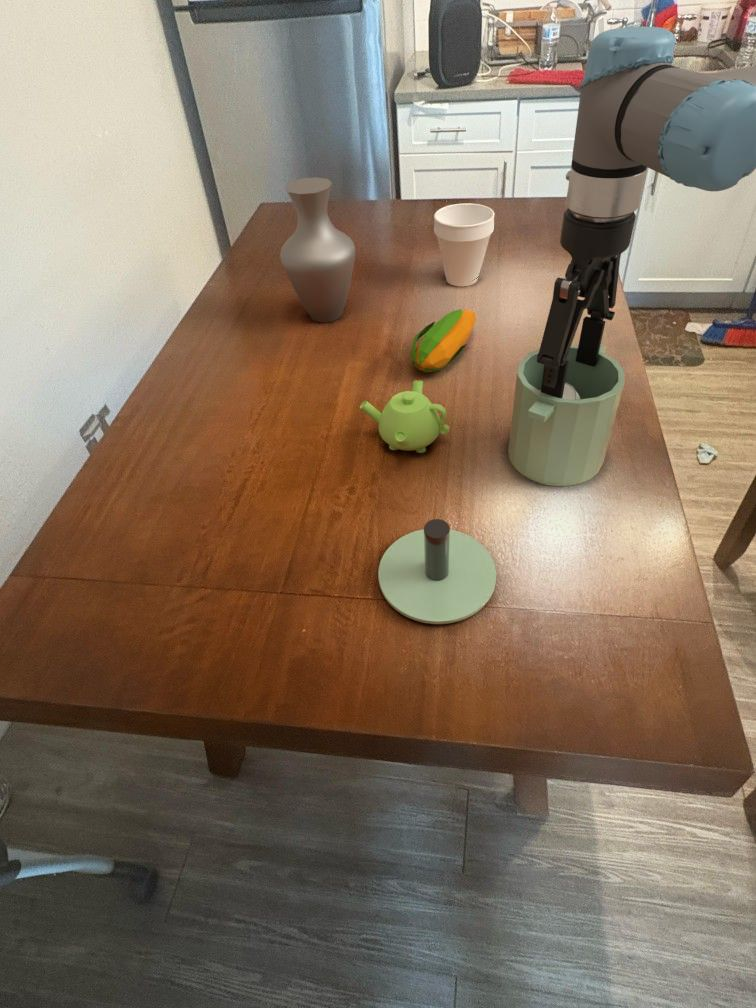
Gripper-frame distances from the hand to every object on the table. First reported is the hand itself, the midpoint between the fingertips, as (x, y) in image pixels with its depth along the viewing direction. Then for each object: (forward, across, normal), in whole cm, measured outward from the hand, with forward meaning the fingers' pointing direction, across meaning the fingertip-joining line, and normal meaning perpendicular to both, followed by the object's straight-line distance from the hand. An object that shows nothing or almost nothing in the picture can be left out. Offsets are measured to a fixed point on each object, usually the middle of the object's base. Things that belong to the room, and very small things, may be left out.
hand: (568, 382), depth 81 cm
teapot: (+13, +9, -21) cm, 26 cm away
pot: (+13, 0, 0) cm, 13 cm away
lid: (+12, +29, -2) cm, 32 cm away
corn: (+13, -15, -29) cm, 35 cm away
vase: (+13, -15, -58) cm, 61 cm away
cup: (+13, -42, -42) cm, 61 cm away
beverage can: (+12, 0, 0) cm, 12 cm away
